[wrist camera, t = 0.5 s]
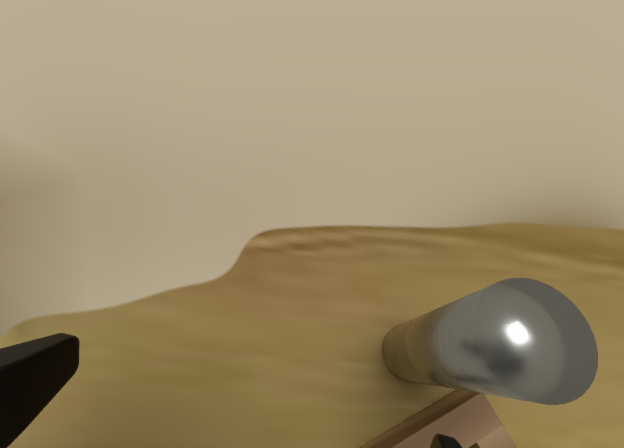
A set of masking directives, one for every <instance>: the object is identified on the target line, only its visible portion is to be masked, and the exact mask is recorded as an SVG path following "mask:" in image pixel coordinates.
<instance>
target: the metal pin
mask: <svg viewBox="0 0 624 448" xmlns="http://www.w3.org/2000/svg"><path fill="white" fill-rule="evenodd" d="M382 354H383V358H384V361H385V363H386V365H387V367H388V368H389V370H390V371H391V372H392V373H393V374H394V375H396V376H397V377H399V378H401V379H403V380H407V381H413V382H419V383H425V384H430V385H436V386H442V387H448V388H454V389H459V390H465V391H471V392H477V393H483V394H488V395H494V396H500V397H506V398H512V399H518V400H523V401H529V402H535V403H541V404H547V405H559V404H565V403H568V402H571V401H574V400H575V399H577V398H579V397H580V396H582V395H583V394H584V393H585V392H586V391H587V390H588V389H589V387H590V386H591V384H592V382H593V381H594V378H595V375H596V371H597V366H598V353H597V346H596V341H595V338H594V335H593V333H592V330H591V328H590V326H589V324H588V322H587V321H586V319H585V317H584V316H583V315H582V313H581V312H580V310H579V309H578V308H577V307H576V306H575V305H574V304H573V303H572V302H571V301H570V300H569V299H568V298H567V297H566V296H564V295H563V294H562V293H561V292H559V291H558V290H556V289H554V288H553V287H551V286H549V285H547V284H545V283H542V282H539V281H536V280H532V279H527V278H511V279H506V280H502V281H500V282H498V283H495V284H493V285H491V286H488V287H486V288H484V289H481V290H479V291H477V292H475V293H472V294H470V295H468V296H465V297H463V298H461V299H458V300H456V301H454V302H452V303H449V304H447V305H445V306H442V307H440V308H438V309H435V310H433V311H431V312H429V313H426V314H424V315H422V316H419V317H417V318H415V319H412V320H410V321H408V322H406V323H403V324H401V325H399V326H396V327H394V328H393V329H391V330H390V331H389V332H388V333H387V335H386V336H385V338H384V341H383V345H382Z"/></svg>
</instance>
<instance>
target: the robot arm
mask: <svg viewBox="0 0 624 448" xmlns="http://www.w3.org/2000/svg"><path fill="white" fill-rule="evenodd" d="M78 365H79V339H78V337H76V336H73V335H69V334H66V333H58V334H54V335H51V336H47V337H43V338H39V339H35V340H32V341H28V342H24V343H20V344H16V345H13V346H9V347H5V348H1V349H0V448H7V447H8V446H9V445H10V444H11V443H12V442H13V441H14V440H15V439H16V438H17V437H18V436H19V435H20V434H21V433H22V432H23V431H24V430H25V429H26V428H27V426H28V425H29V424H30V423H31V422H32V421H33V420H34V419H35V418H36V417H37V415H38V414H39V413H40V412H41V411H42V410H43V409H44V408H45V406H46V405H47V404H48V403H49V402H50V401H51V400H52V399H53V397H54V396H55V395H56V394H57V393H58V392H59V391H60V390H61V389H62V387H63V386H64V385H65V384H66V383H67V382H68V381H69V380H70V378H71V377H72V376H73V375H74V374H75V372H76V370H77V368H78ZM430 448H463V447H462V446H461V445H460V444H459V442H458V441H457V440H456V439H455V438H453V437H450V436H446V435H443V434H435V436H434V437H433V440H432V443H431V446H430Z"/></svg>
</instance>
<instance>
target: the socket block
mask: <svg viewBox="0 0 624 448" xmlns="http://www.w3.org/2000/svg"><path fill="white" fill-rule="evenodd" d="M435 434H443V435H446V436H450V437H453V438H455V439H456V440H457V441H458V442H459V444H460V445H461V446H462V447H463V448H517V447H516V445H515V444H514V442H513V441H512V439H511V437H510V436H509V434H508V433H507V431H506V429H505V428H504V426H503V424H502V423H501V421H500V420H499V418H498V416H497V415H496V413H495V412H494V410H493V408H492V407H491V405H490V404H489V402H488V400H487V399H486V397H485V396H484V394H483V393H477V392H471V391H465V390H459V389H457V390H455V391H453V392H452V393H450V394H448V395H447V396H445V397H443V398H442V399H440V400H438V401H437V402H435V403H433V404H432V405H430V406H428V407H427V408H425V409H423V410H422V411H420V412H418V413H417V414H415V415H414V416H412V417H410V418H409V419H407V420H405V421H404V422H402V423H400V424H399V425H397V426H395V427H394V428H392V429H390V430H389V431H387V432H385V433H384V434H382V435H380V436H379V437H377V438H375V439H374V440H372V441H370V442H369V443H367V444H365V445H364V446H362V447H360V448H430V446H431V443H432V440H433V437H434V436H435Z"/></svg>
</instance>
